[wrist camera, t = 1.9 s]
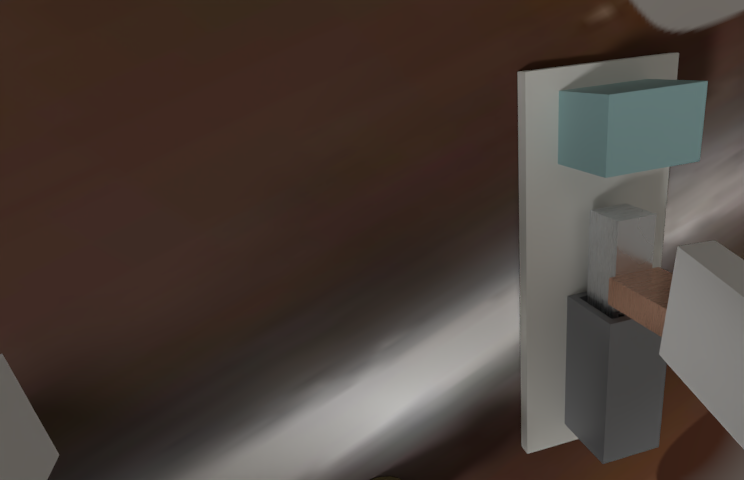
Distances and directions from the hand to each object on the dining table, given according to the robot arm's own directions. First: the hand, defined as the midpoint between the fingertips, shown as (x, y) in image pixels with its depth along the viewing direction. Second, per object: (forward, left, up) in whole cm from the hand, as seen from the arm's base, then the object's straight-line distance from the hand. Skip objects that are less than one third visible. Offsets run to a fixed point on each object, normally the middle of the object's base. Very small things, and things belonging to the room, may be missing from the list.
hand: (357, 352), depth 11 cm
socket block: (-1, -24, -25) cm, 34 cm away
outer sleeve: (-20, -24, -25) cm, 39 cm away
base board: (-12, -24, -25) cm, 36 cm away
